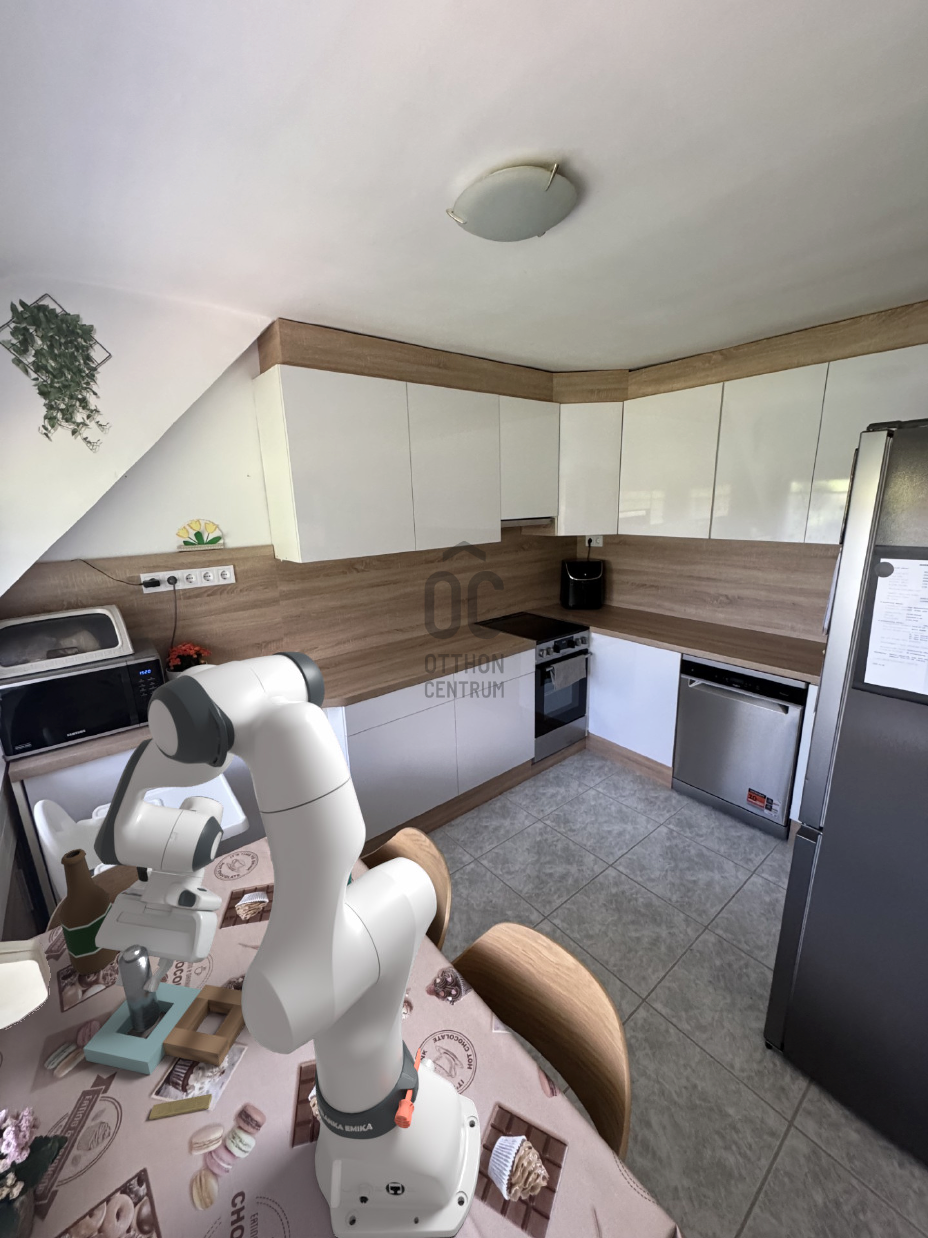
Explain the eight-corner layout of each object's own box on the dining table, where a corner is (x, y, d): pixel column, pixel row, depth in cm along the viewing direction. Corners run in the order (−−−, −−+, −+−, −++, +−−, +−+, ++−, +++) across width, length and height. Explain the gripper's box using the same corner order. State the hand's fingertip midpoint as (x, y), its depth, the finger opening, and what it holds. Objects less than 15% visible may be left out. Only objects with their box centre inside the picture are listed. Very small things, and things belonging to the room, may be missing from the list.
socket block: (257, 1004, 88) (255, 993, 87) (219, 1066, 78) (217, 1054, 77) (207, 995, 89) (205, 984, 89) (165, 1054, 80) (162, 1042, 79)
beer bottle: (130, 943, 101) (108, 840, 96) (99, 978, 93) (73, 869, 88) (95, 941, 102) (71, 839, 96) (62, 976, 94) (34, 867, 89)
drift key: (212, 1098, 74) (211, 1094, 74) (209, 1110, 73) (208, 1105, 72) (155, 1110, 73) (153, 1105, 73) (150, 1122, 71) (149, 1117, 71)
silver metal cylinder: (165, 1010, 85) (152, 942, 82) (147, 1034, 81) (131, 963, 78) (146, 1006, 86) (131, 939, 83) (126, 1029, 82) (110, 960, 79)
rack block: (203, 1001, 89) (201, 989, 88) (150, 1075, 77) (147, 1062, 76) (146, 990, 91) (144, 979, 90) (86, 1060, 79) (83, 1048, 79)
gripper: (108, 884, 88) (67, 980, 81) (210, 899, 84) (176, 1000, 77) (134, 887, 93) (97, 977, 86) (230, 901, 89) (200, 996, 82)
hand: (135, 988), depth 81 cm, fingers closed on silver metal cylinder, 4 cm apart
